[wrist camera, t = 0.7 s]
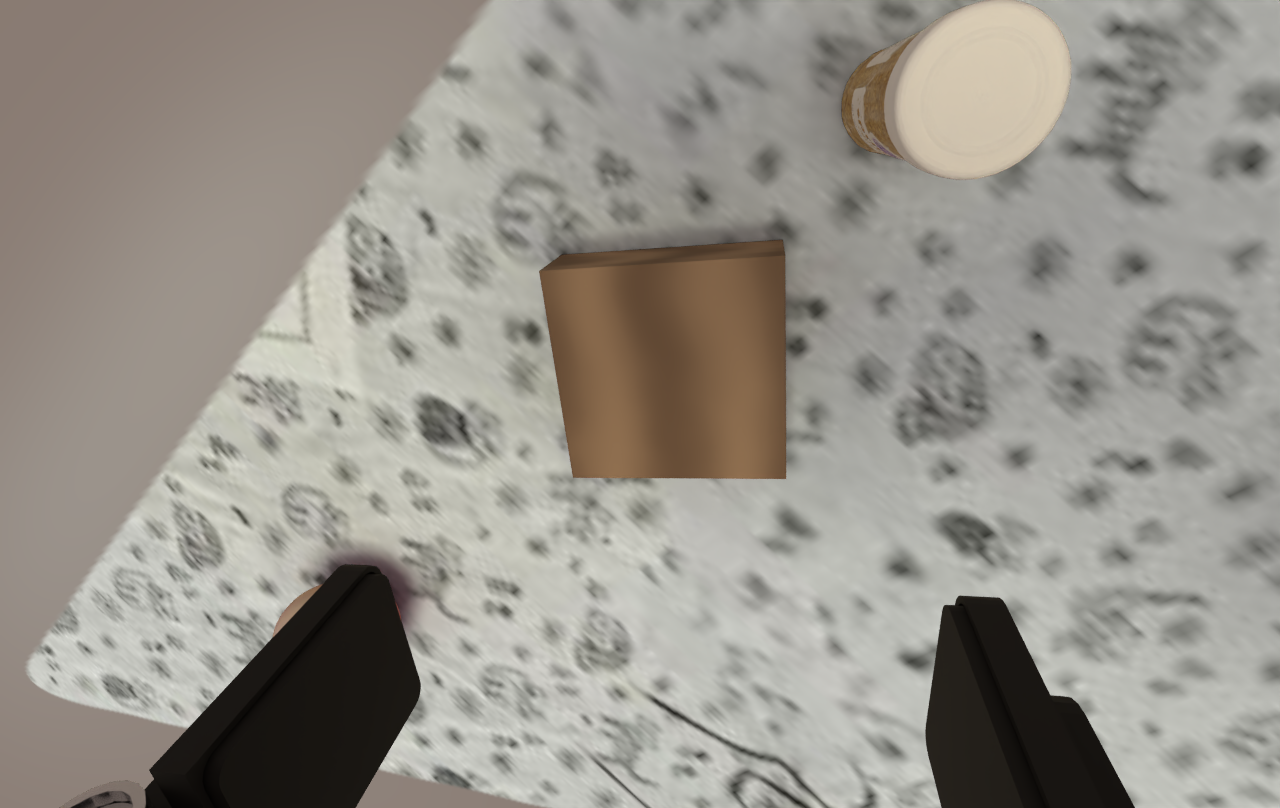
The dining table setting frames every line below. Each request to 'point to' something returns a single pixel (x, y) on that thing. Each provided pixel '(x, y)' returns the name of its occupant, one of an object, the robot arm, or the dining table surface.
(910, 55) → the sprinkles bottle
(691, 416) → the walnut stand
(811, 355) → the dining table surface
